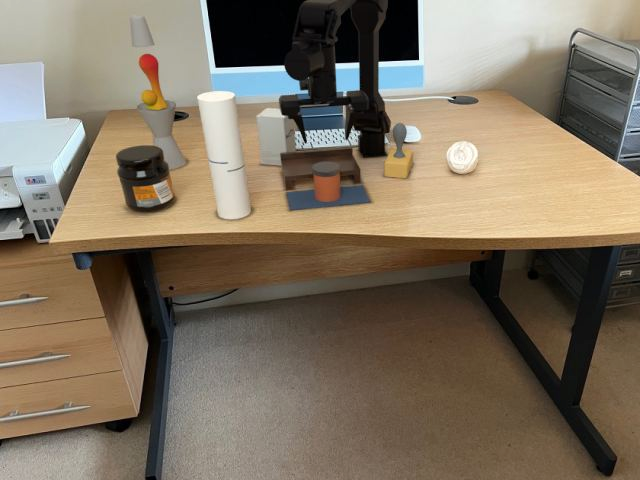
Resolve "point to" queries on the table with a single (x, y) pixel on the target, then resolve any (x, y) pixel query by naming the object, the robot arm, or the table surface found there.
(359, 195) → the mat
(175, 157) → the lava lamp
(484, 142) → the table surface
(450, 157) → the cream swirled ball
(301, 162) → the shelf
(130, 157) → the supplement container
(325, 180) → the jar
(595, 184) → the table surface
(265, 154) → the white packaging box
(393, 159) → the rubber stamp
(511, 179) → the table surface
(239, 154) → the cylindrical container
